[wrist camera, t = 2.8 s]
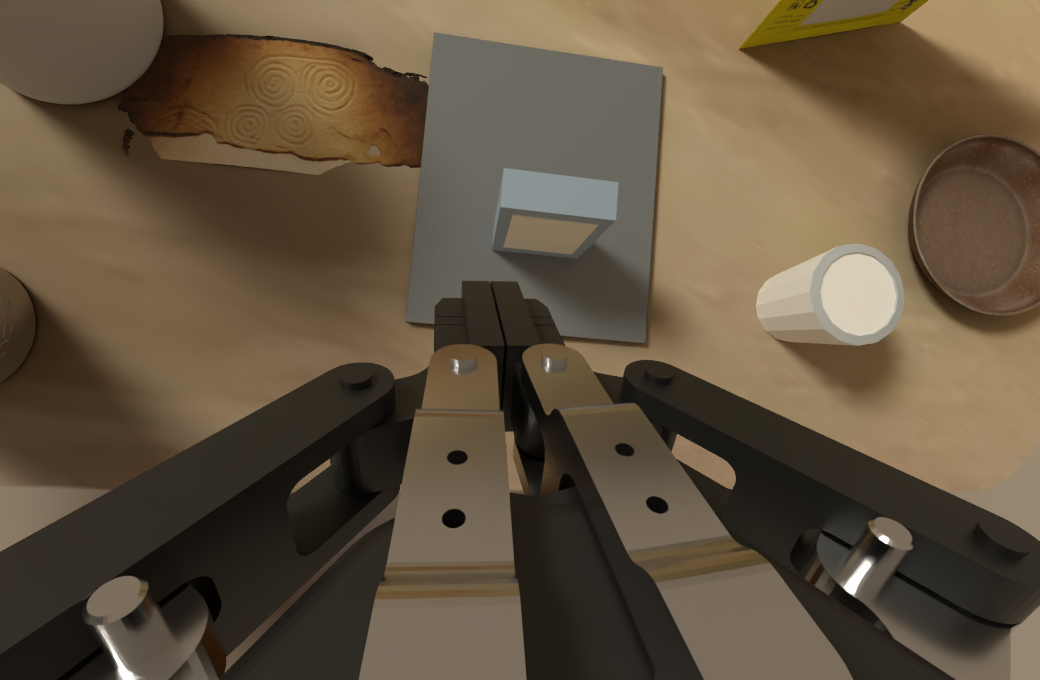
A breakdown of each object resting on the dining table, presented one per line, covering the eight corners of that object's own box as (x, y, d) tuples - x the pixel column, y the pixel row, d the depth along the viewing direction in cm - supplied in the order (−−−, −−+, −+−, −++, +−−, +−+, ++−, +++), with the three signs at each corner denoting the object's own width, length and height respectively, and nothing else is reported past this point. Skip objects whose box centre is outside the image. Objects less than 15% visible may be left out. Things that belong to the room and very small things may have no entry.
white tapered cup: (810, 363, 38) (886, 362, 31) (736, 328, 38) (796, 319, 31) (839, 287, 39) (920, 269, 32) (766, 251, 38) (832, 225, 31)
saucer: (1003, 349, 40) (1040, 348, 38) (858, 265, 39) (887, 258, 37) (1063, 202, 42) (1104, 191, 39) (926, 118, 41) (958, 100, 38)
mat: (406, 322, 35) (405, 321, 34) (434, 38, 36) (434, 32, 36) (642, 343, 37) (645, 343, 36) (659, 72, 38) (662, 67, 38)
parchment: (116, 155, 34) (107, 149, 33) (132, 21, 34) (123, 12, 33) (466, 196, 37) (466, 192, 36) (476, 72, 37) (477, 66, 36)
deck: (491, 251, 35) (500, 208, 26) (494, 221, 35) (503, 167, 26) (577, 260, 36) (615, 222, 27) (579, 230, 36) (618, 182, 27)
